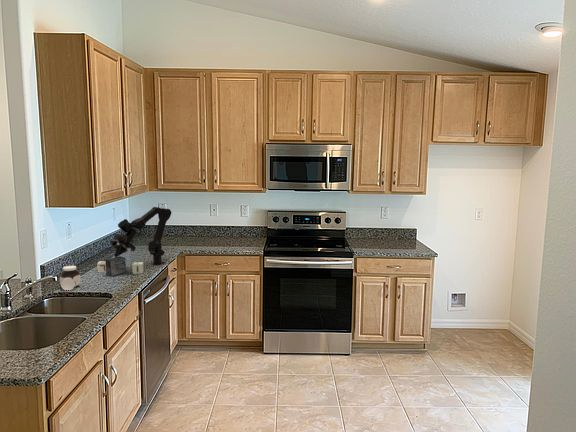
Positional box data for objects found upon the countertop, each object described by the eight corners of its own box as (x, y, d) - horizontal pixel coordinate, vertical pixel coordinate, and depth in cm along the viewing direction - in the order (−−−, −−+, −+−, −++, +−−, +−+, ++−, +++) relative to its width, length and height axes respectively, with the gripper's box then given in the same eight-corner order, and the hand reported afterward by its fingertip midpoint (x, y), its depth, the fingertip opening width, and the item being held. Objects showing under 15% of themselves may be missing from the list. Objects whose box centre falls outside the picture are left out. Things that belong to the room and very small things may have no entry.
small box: (121, 271, 288) (120, 255, 287) (126, 273, 284) (126, 257, 283) (105, 275, 280) (104, 258, 279) (111, 276, 276) (110, 260, 275)
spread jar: (76, 284, 260) (75, 264, 259) (85, 287, 253) (84, 267, 252) (55, 288, 251) (53, 268, 250) (64, 292, 244) (62, 271, 243)
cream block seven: (99, 270, 292) (98, 261, 291) (109, 269, 293) (108, 260, 292) (97, 272, 286) (97, 263, 285) (107, 272, 287) (107, 262, 286)
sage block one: (133, 271, 289) (133, 262, 289) (143, 271, 291) (143, 261, 290) (132, 274, 283) (132, 264, 282) (142, 273, 285) (142, 263, 284)
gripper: (111, 227, 288) (97, 247, 280) (131, 230, 278) (116, 250, 270) (122, 238, 296) (108, 257, 288) (141, 241, 286) (128, 261, 278)
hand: (115, 256), depth 281 cm, fingers closed
